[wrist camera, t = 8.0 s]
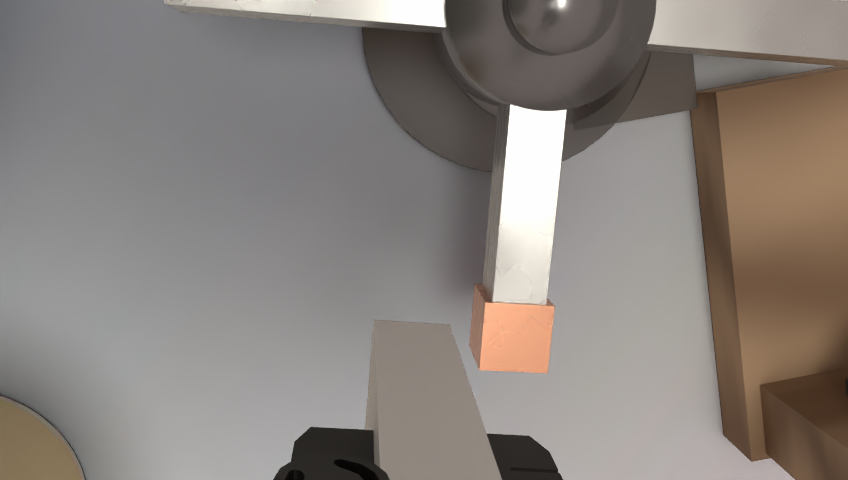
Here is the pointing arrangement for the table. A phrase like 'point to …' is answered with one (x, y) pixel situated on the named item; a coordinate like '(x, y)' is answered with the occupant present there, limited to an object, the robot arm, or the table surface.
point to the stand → (715, 225)
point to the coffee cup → (33, 447)
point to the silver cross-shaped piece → (555, 105)
